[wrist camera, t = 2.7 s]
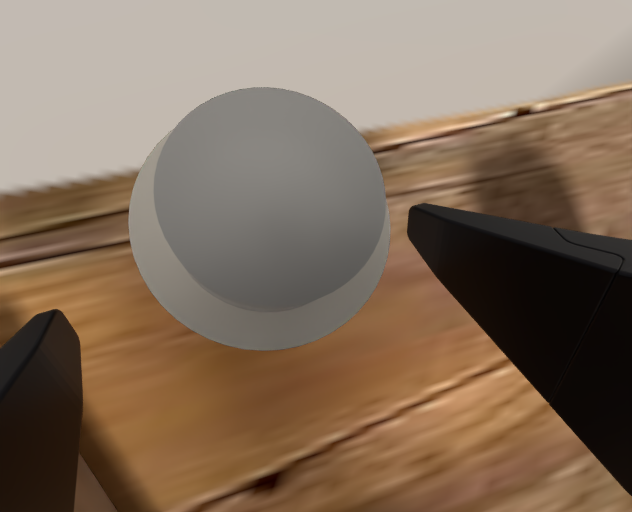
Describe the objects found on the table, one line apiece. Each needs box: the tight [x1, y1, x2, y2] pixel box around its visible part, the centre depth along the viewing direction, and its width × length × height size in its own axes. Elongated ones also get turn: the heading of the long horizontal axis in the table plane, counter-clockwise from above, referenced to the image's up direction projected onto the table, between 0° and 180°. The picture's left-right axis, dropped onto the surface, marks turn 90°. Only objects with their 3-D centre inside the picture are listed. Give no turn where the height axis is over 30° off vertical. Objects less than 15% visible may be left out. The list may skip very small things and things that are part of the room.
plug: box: [128, 88, 390, 351], centre depth 11 cm, size 4×4×12 cm
